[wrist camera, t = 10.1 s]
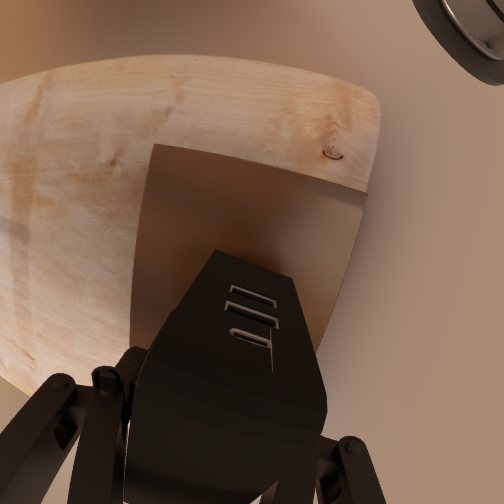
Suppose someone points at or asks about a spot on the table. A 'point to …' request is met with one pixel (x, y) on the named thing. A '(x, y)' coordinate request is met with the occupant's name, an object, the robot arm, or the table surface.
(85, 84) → the table surface
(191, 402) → the electronic device
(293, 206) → the shelf
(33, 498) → the robot arm
